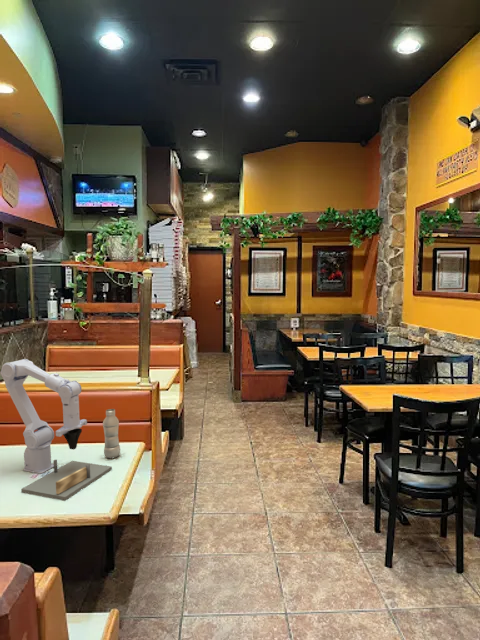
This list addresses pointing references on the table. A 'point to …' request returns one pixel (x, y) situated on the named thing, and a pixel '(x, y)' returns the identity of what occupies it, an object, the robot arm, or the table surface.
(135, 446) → the table surface
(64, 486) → the board
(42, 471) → the robot arm
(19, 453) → the table surface
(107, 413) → the plastic bottle
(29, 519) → the table surface
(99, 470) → the gate board
